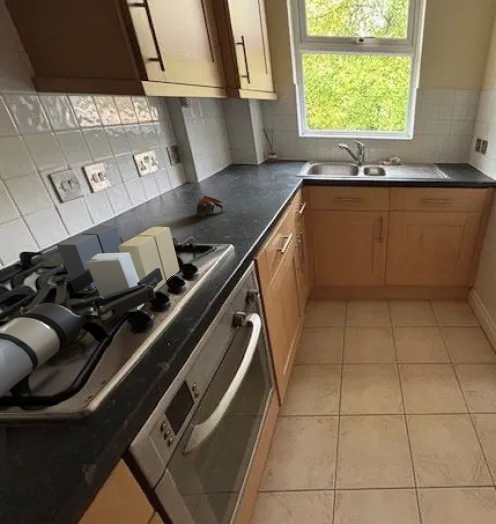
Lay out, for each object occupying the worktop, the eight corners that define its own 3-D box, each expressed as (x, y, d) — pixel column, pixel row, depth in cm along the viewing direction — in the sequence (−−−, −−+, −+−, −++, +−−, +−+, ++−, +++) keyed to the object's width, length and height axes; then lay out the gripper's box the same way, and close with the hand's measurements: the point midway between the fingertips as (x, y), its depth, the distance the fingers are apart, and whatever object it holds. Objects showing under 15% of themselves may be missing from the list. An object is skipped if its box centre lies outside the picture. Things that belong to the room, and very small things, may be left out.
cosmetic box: (147, 301, 73) (131, 251, 68) (137, 312, 69) (120, 260, 64) (116, 303, 72) (98, 252, 67) (104, 314, 68) (84, 261, 63)
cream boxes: (133, 294, 75) (118, 245, 70) (164, 270, 86) (152, 226, 81) (151, 294, 75) (137, 246, 70) (179, 270, 87) (169, 226, 81)
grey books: (76, 293, 75) (56, 244, 70) (114, 268, 86) (99, 225, 81) (93, 293, 75) (75, 244, 70) (129, 269, 86) (116, 225, 81)
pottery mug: (193, 213, 132) (200, 194, 132) (218, 221, 137) (224, 202, 137) (195, 214, 122) (202, 192, 122) (221, 222, 127) (228, 202, 127)
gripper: (-33, 352, 53) (75, 287, 72) (125, 356, 53) (190, 289, 72) (-58, 313, 49) (62, 255, 69) (110, 317, 50) (182, 258, 69)
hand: (127, 272), depth 70 cm, fingers open, 13 cm apart
